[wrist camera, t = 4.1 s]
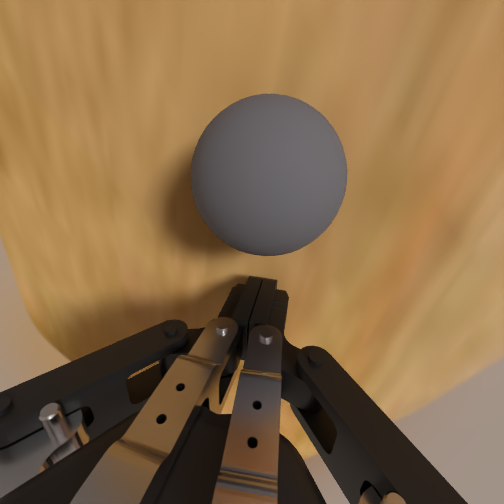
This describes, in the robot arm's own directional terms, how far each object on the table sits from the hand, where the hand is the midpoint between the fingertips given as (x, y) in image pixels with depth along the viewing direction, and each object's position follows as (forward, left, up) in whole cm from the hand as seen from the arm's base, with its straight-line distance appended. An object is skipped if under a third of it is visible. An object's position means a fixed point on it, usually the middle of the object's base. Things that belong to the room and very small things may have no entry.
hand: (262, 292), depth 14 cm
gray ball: (-6, +2, +2) cm, 7 cm away
